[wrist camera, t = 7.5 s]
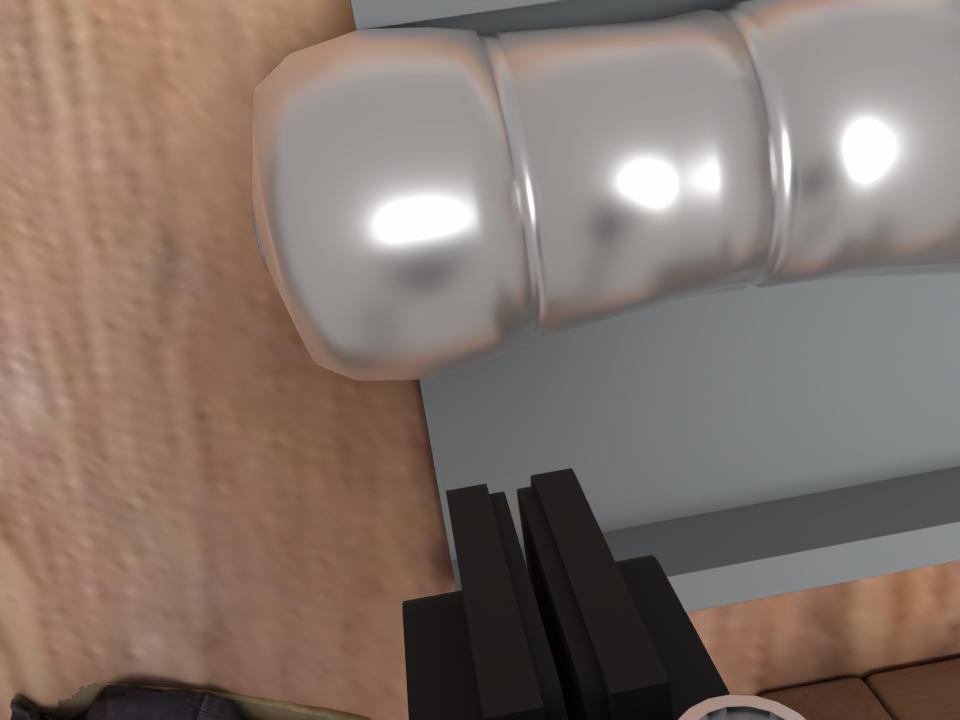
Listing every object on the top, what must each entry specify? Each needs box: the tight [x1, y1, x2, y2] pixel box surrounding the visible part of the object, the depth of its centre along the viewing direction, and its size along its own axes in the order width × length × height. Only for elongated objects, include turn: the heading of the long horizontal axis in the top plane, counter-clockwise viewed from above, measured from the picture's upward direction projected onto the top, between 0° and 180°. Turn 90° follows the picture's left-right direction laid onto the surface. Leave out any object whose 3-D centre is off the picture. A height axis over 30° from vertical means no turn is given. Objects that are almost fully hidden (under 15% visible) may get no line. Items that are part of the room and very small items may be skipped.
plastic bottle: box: [252, 0, 960, 381], centre depth 17 cm, size 6×7×20 cm
